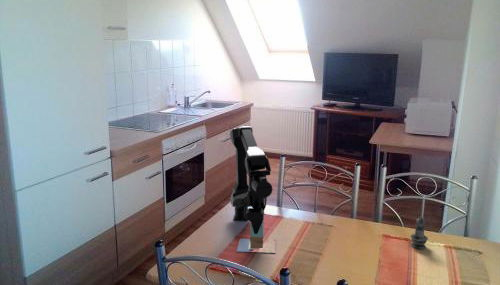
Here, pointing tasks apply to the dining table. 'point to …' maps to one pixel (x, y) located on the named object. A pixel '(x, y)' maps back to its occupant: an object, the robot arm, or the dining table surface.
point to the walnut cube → (256, 242)
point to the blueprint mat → (244, 246)
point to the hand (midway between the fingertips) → (256, 228)
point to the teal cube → (260, 232)
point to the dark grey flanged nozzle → (419, 235)
